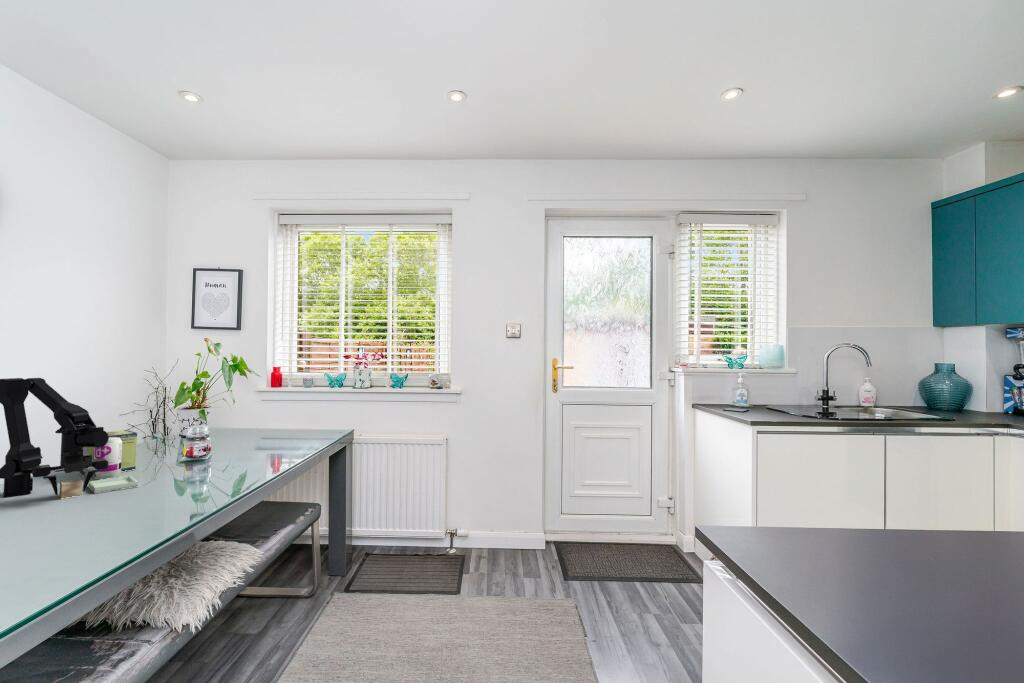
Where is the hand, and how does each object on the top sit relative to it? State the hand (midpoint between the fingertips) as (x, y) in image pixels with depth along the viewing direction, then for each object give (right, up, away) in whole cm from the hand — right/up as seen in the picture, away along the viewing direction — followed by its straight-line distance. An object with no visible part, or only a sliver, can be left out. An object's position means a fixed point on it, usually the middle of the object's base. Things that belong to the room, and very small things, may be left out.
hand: (70, 493), depth 166 cm
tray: (+5, -1, +12) cm, 13 cm away
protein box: (-15, -2, +33) cm, 36 cm away
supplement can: (-8, -2, +24) cm, 26 cm away
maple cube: (0, -1, 0) cm, 1 cm away
